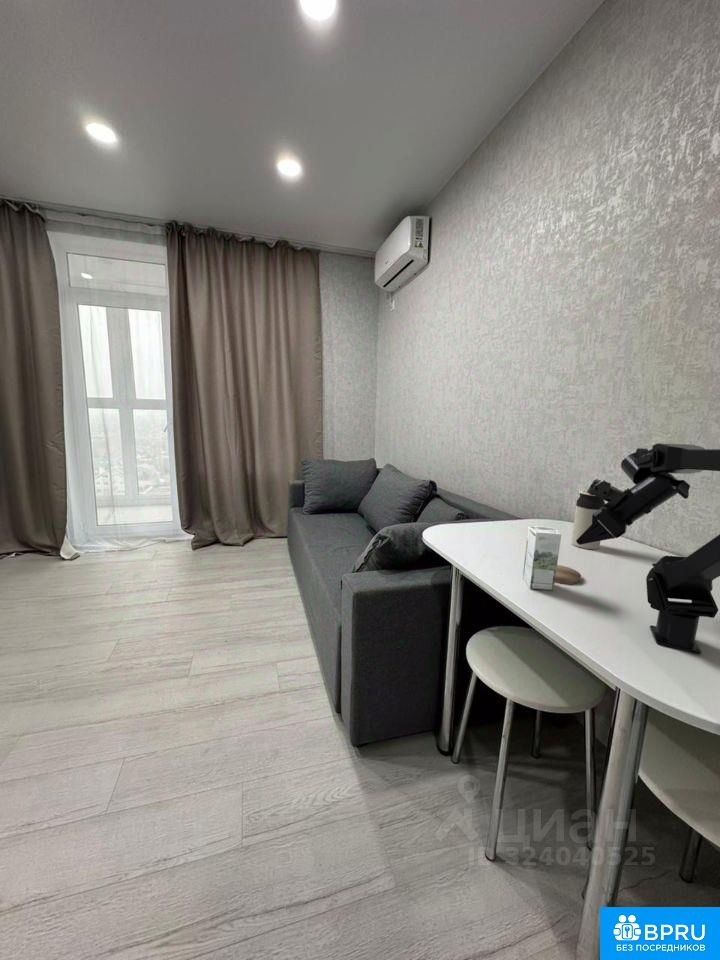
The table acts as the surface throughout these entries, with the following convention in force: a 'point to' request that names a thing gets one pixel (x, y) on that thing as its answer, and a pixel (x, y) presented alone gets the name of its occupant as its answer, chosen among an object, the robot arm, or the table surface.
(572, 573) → the walnut stand
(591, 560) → the table surface
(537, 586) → the syrup box
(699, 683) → the table surface
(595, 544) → the travel mug
